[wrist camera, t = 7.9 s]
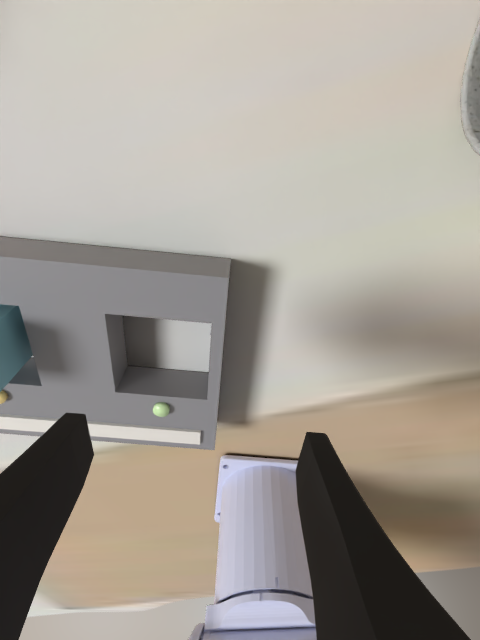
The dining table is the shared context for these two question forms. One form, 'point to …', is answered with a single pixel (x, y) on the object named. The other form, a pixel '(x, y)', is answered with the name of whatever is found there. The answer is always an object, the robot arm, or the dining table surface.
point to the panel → (110, 341)
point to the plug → (12, 343)
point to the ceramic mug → (472, 94)
